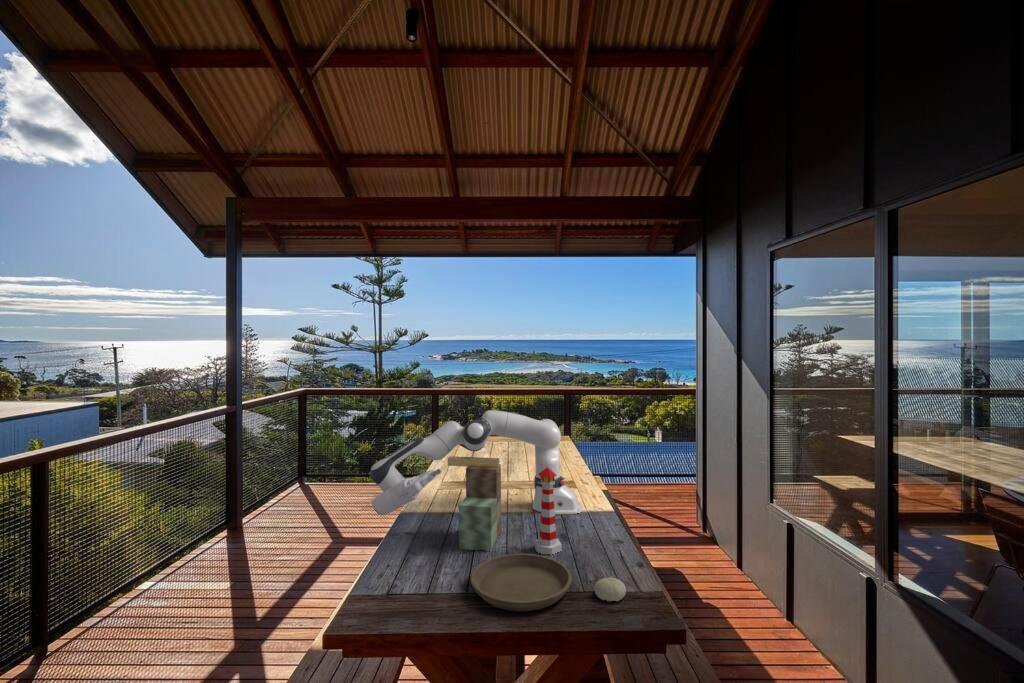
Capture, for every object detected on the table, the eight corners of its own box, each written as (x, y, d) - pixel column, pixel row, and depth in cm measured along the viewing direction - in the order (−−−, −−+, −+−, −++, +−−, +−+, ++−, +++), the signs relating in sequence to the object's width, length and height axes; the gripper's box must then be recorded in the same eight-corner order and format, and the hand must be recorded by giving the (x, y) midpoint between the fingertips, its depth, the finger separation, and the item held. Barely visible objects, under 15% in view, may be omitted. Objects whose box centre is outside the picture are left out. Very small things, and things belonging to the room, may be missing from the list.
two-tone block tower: (501, 532, 204) (500, 464, 203) (491, 551, 186) (490, 476, 186) (471, 530, 206) (471, 463, 205) (459, 548, 188) (458, 475, 188)
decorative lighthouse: (564, 546, 190) (564, 465, 189) (558, 556, 181) (558, 471, 181) (537, 542, 193) (537, 463, 193) (530, 552, 185) (530, 469, 184)
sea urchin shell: (588, 583, 158) (606, 564, 158) (606, 600, 158) (624, 581, 159) (595, 598, 149) (614, 577, 149) (614, 616, 149) (633, 596, 150)
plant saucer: (540, 628, 137) (540, 611, 137) (449, 597, 154) (449, 582, 154) (588, 581, 164) (588, 566, 164) (506, 559, 180) (505, 546, 180)
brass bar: (499, 465, 201) (499, 458, 201) (497, 467, 198) (497, 460, 198) (450, 463, 204) (450, 456, 204) (447, 465, 202) (447, 458, 201)
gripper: (393, 490, 196) (423, 473, 194) (413, 476, 216) (440, 460, 214) (401, 505, 196) (431, 488, 193) (420, 489, 216) (448, 474, 214)
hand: (436, 473), depth 204 cm, fingers open, 8 cm apart
